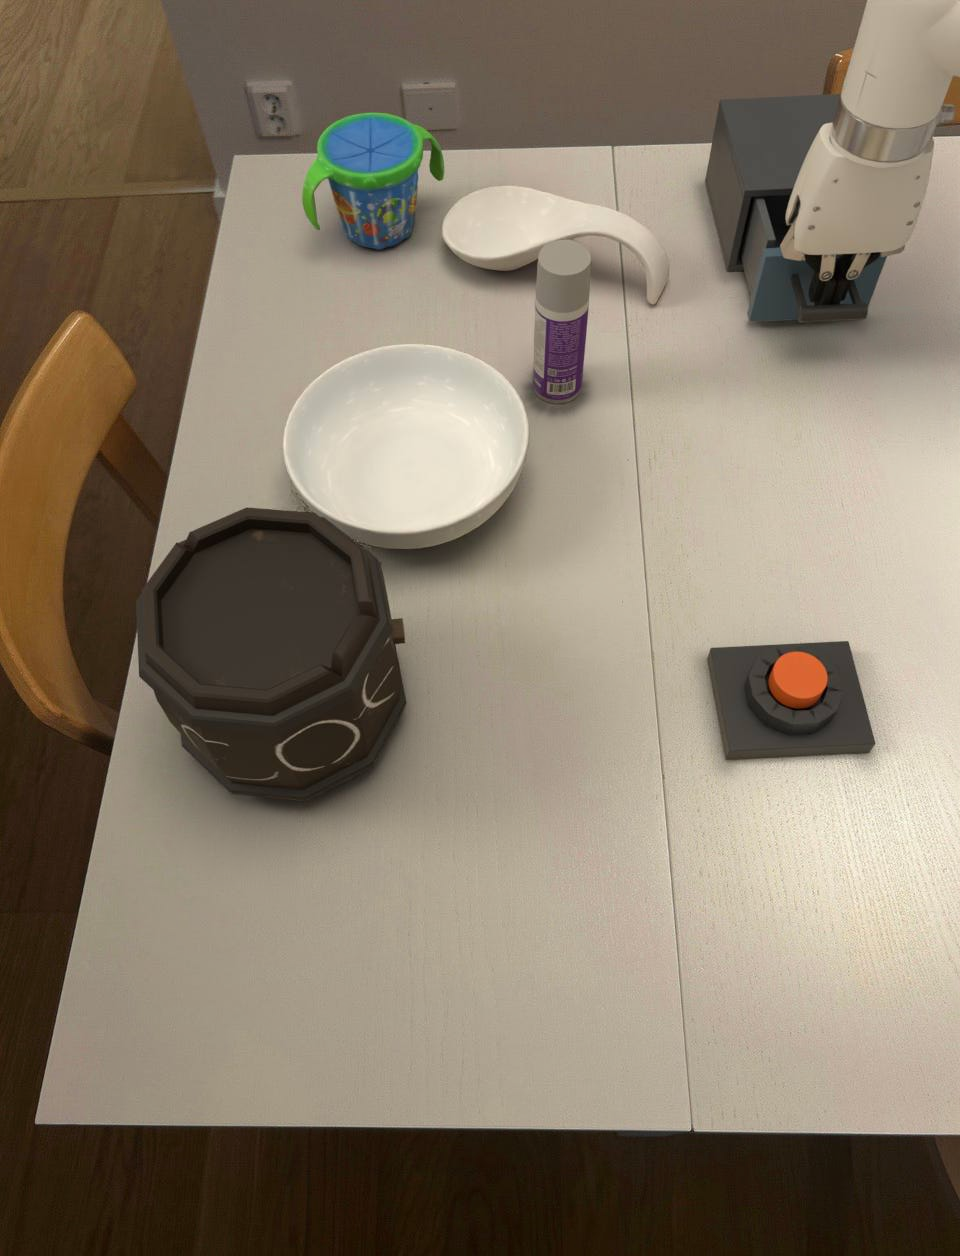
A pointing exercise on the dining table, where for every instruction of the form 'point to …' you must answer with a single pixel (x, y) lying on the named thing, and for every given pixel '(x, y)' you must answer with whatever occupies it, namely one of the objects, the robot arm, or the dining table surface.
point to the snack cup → (372, 176)
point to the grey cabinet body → (758, 157)
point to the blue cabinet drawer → (791, 272)
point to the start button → (798, 680)
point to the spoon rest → (542, 230)
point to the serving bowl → (407, 444)
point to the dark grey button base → (774, 728)
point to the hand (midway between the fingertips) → (823, 304)
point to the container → (561, 320)
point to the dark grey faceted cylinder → (273, 652)
